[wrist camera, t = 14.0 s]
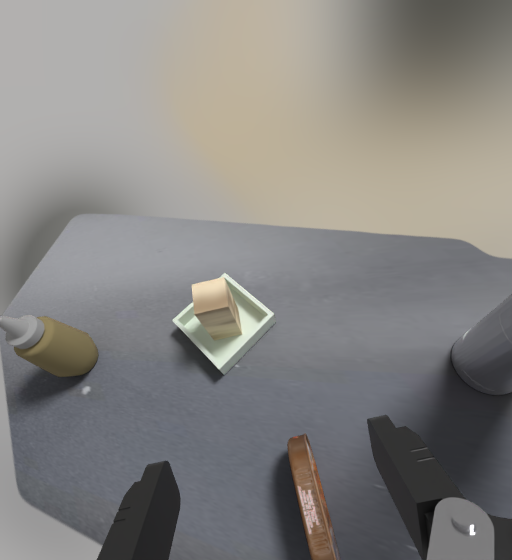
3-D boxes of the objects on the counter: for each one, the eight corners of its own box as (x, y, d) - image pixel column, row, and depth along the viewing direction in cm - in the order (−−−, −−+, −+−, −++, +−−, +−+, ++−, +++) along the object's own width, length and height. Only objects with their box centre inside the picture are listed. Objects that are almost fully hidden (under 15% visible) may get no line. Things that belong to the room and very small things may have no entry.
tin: (344, 573, 37) (353, 598, 30) (318, 579, 37) (321, 606, 30) (308, 435, 45) (308, 429, 38) (287, 440, 45) (282, 435, 38)
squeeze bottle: (96, 329, 59) (22, 281, 44) (111, 363, 55) (35, 323, 40) (56, 355, 58) (-36, 315, 42) (69, 392, 54) (-27, 362, 38)
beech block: (211, 314, 57) (191, 284, 47) (238, 308, 56) (223, 277, 47) (214, 340, 54) (194, 314, 45) (242, 334, 54) (228, 306, 44)
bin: (228, 282, 60) (224, 272, 57) (276, 322, 55) (274, 313, 52) (179, 327, 57) (172, 320, 54) (224, 375, 51) (219, 369, 48)
